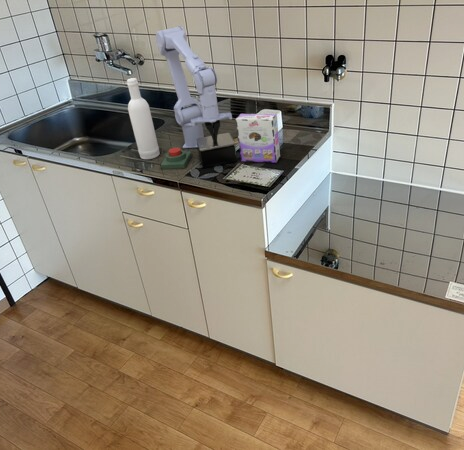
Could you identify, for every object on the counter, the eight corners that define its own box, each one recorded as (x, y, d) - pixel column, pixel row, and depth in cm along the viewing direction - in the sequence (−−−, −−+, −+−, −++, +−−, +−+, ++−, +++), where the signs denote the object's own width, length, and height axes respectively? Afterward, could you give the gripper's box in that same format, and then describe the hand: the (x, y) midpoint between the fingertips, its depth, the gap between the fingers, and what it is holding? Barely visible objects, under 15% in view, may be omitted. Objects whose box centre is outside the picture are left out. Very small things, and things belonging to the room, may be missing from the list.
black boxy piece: (237, 162, 171) (234, 146, 168) (203, 168, 170) (200, 152, 166) (231, 149, 181) (229, 134, 178) (199, 155, 180) (196, 140, 176)
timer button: (171, 152, 177) (170, 147, 176) (182, 151, 177) (181, 147, 176) (168, 157, 174) (167, 152, 173) (179, 156, 173) (178, 152, 172)
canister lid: (235, 145, 167) (234, 143, 167) (200, 151, 165) (199, 149, 165) (229, 134, 178) (228, 132, 178) (196, 140, 176) (196, 138, 176)
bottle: (141, 152, 188) (122, 77, 172) (160, 149, 188) (143, 74, 172) (139, 160, 181) (119, 83, 165) (159, 158, 182) (141, 80, 165)
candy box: (280, 156, 172) (277, 113, 163) (276, 163, 167) (272, 119, 158) (245, 154, 176) (240, 112, 167) (240, 161, 172) (234, 118, 163)
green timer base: (169, 156, 182) (167, 147, 180) (191, 155, 181) (190, 146, 179) (161, 169, 173) (159, 160, 171) (184, 168, 172) (183, 159, 170)
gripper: (190, 111, 159) (196, 148, 167) (231, 104, 161) (236, 141, 169) (187, 105, 165) (194, 141, 173) (228, 98, 167) (232, 134, 175)
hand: (214, 140), depth 171 cm, fingers closed, pressing on canister lid
